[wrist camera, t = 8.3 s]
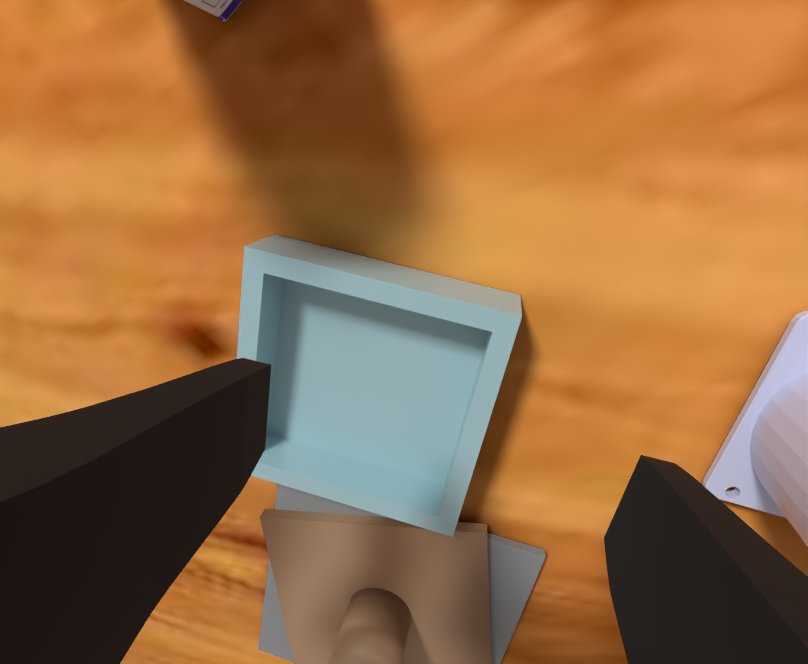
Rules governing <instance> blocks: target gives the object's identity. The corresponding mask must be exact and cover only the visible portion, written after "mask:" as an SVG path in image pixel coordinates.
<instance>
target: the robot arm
mask: <svg viewBox="0 0 808 664" xmlns="http://www.w3.org/2000/svg"><path fill="white" fill-rule="evenodd" d="M270 377H271V364H267V363H262V362H258V361H254V360H250V359H246V358H239V359H235V360H231V361H228V362H224V363H221V364H218V365H215V366H212V367H209V368H206V369H203V370H200V371H197V372H194V373H192V374H189V375H186V376H183V377H180V378H177V379H174V380H171V381H168V382H165V383H162V384H159V385H156V386H153V387H150V388H147V389H144V390H141V391H138V392H135V393H131V394H128V395H125V396H121V397H118V398H115V399H111V400H108V401H105V402H101V403H98V404H95V405H92V406H88V407H85V408H81V409H77V410H74V411H70V412H66V413H62V414H58V415H54V416H50V417H46V418H41V419H37V420H33V421H28V422H24V423H19V424H15V425H10V426H6V427H1V428H0V664H120V662H121V661H122V659H123V658H124V656H125V654H126V653H127V651H128V650H129V648H130V646H131V645H132V643H133V641H134V640H135V638H136V637H137V635H138V633H139V632H140V630H141V629H142V627H143V625H144V624H145V622H146V621H147V619H148V617H149V616H150V614H151V613H152V611H153V610H154V608H155V607H156V605H157V604H158V603H159V601H160V600H161V598H162V597H163V595H164V594H165V593H166V591H167V590H168V588H169V587H170V586H171V584H172V583H173V582H174V580H175V579H176V578H177V576H178V575H179V574H180V572H181V571H182V570H183V568H184V567H185V566H186V565H187V563H188V562H189V561H190V559H191V558H192V557H193V555H194V554H195V553H196V551H197V550H198V549H199V547H200V546H201V545H202V543H203V542H204V541H205V539H206V538H207V537H208V535H209V534H210V533H211V532H212V530H213V529H214V528H215V526H216V525H217V524H218V522H219V521H220V520H221V518H222V517H223V516H224V514H225V513H226V511H227V510H228V509H229V507H230V506H231V505H232V503H233V502H234V501H235V499H236V498H237V497H238V495H239V494H240V492H241V491H242V489H243V488H244V486H245V484H246V483H247V481H248V479H249V477H250V476H251V474H252V472H253V470H254V469H255V467H256V465H257V463H258V461H259V459H260V458H261V456H262V454H263V452H264V450H265V445H266V431H267V418H268V404H269V391H270ZM730 487H736V488H735V489H734V490H732V491H726V490H727V489H728V488H730ZM719 499H720V500H723V501H727V502H730V503H734V504H738V505H741V506H745V507H748V508H752V509H755V510H759V511H763V512H766V513H770V514H773V515H777V516H780V517H784V518H787V520H788V521H789V522H790V524H791V525H792V526H793V528H794V529H795V530H796V532H797V533H798V535H799V536H800V537H801V539H802V540H803V541H804V543H805V544H806V545H807V547H808V310H807V311H803V312H800V313H799V314H797V315H795V316H794V318H793V319H792V320H791V322H790V323H789V325H788V327H787V329H786V331H785V332H784V334H783V336H782V338H781V340H780V341H779V343H778V345H777V347H776V349H775V350H774V352H773V354H772V356H771V358H770V360H769V361H768V363H767V365H766V367H765V369H764V370H763V372H762V374H761V376H760V378H759V379H758V381H757V383H756V385H755V387H754V389H753V390H752V392H751V394H750V396H749V398H748V399H747V401H746V403H745V405H744V407H743V408H742V410H741V412H740V414H739V416H738V418H737V419H736V421H735V423H734V425H733V427H732V428H731V430H730V432H729V434H728V436H727V437H726V439H725V441H724V443H723V445H722V446H721V448H720V450H719V452H718V454H717V456H716V457H715V459H714V461H713V463H712V465H711V466H710V468H709V470H708V472H707V474H706V475H705V477H704V479H703V482H702V484H701V483H700V482H698V481H697V480H696V479H695V478H694V477H692V476H691V475H690V474H689V473H687V472H686V471H685V470H683V469H682V468H681V467H679V466H678V465H677V464H675V463H671V462H667V461H663V460H659V459H655V458H651V457H647V456H643V455H641V456H640V459H639V461H638V463H637V465H636V467H635V470H634V472H633V474H632V476H631V479H630V481H629V483H628V485H627V488H626V490H625V492H624V494H623V497H622V499H621V501H620V503H619V506H618V508H617V510H616V512H615V515H614V517H613V519H612V521H611V524H610V526H609V528H608V530H607V533H606V535H605V537H604V542H605V552H606V562H607V571H608V578H609V586H610V592H611V597H612V601H613V605H614V609H615V613H616V617H617V621H618V625H619V629H620V633H621V637H622V641H623V645H624V649H625V653H626V656H627V660H628V664H808V577H807V576H806V575H805V574H804V573H802V572H801V571H800V570H799V569H798V568H796V567H795V566H794V565H793V564H792V563H791V562H789V561H788V560H787V559H786V558H785V557H784V556H782V555H781V554H780V553H779V552H778V551H777V550H776V549H774V548H773V547H772V546H771V545H770V544H769V543H768V542H766V541H765V540H764V539H763V538H762V537H761V536H760V535H758V534H757V533H756V532H755V531H754V530H753V529H752V528H751V527H749V526H748V525H747V524H746V523H745V522H744V521H743V520H742V519H740V518H739V517H738V516H737V515H736V514H735V513H734V512H733V511H731V510H730V509H729V508H728V507H727V506H726V505H725V504H724V503H722V502H721V501H720V500H719Z"/></svg>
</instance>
